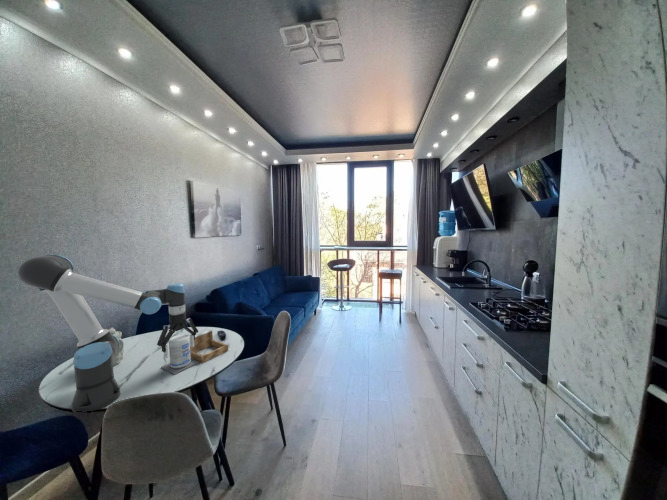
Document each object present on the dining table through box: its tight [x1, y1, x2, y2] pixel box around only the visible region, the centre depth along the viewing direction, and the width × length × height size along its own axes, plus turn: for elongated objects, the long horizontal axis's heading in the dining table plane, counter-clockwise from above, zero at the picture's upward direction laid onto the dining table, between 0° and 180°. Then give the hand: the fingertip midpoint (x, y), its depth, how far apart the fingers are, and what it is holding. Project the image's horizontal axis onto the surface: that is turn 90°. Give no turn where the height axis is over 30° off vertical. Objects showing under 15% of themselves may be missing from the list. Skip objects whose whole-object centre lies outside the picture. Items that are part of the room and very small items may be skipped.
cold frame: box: [190, 329, 229, 364], centre depth 148 cm, size 16×17×10 cm
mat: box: [160, 358, 200, 376], centre depth 135 cm, size 13×13×1 cm
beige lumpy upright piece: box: [107, 327, 125, 367], centre depth 137 cm, size 16×15×19 cm
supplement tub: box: [168, 333, 192, 368], centre depth 135 cm, size 10×10×15 cm
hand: (179, 351), depth 135 cm, fingers open, 13 cm apart
